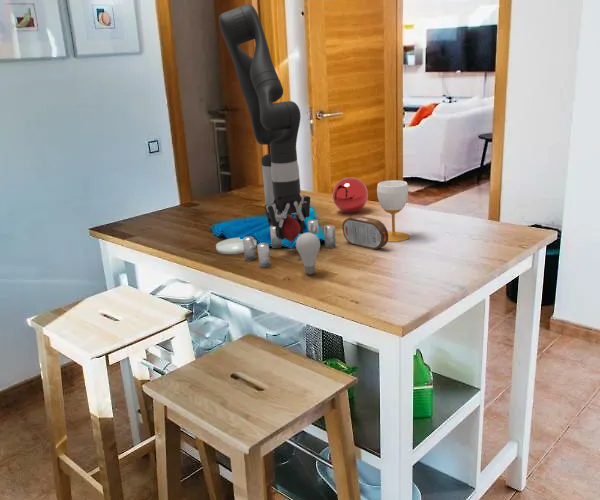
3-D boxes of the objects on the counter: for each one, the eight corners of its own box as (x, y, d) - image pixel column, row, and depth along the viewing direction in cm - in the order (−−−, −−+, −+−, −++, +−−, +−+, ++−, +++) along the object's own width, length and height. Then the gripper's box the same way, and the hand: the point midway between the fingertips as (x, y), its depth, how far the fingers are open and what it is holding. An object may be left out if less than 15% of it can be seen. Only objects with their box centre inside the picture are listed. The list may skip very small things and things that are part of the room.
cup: (412, 233, 178) (412, 180, 173) (404, 243, 170) (403, 187, 165) (383, 231, 182) (381, 179, 177) (374, 240, 174) (372, 186, 169)
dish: (244, 238, 186) (244, 234, 185) (264, 247, 176) (264, 243, 176) (209, 247, 179) (208, 244, 179) (228, 257, 170) (227, 253, 169)
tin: (389, 249, 166) (388, 220, 164) (382, 252, 164) (381, 223, 162) (348, 240, 177) (347, 212, 174) (341, 243, 175) (339, 215, 172)
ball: (374, 208, 207) (373, 174, 203) (359, 218, 198) (357, 182, 194) (343, 206, 213) (341, 173, 209) (327, 215, 204) (325, 180, 200)
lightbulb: (297, 271, 155) (294, 230, 152) (320, 269, 156) (318, 228, 152) (299, 279, 150) (295, 237, 146) (323, 277, 150) (320, 235, 146)
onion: (299, 244, 166) (296, 217, 163) (278, 244, 167) (276, 217, 165) (303, 237, 171) (300, 210, 169) (283, 238, 173) (281, 211, 170)
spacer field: (308, 235, 184) (307, 216, 182) (345, 249, 169) (344, 228, 167) (236, 255, 171) (234, 235, 169) (269, 271, 156) (267, 250, 154)
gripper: (299, 170, 170) (303, 227, 175) (255, 180, 162) (261, 239, 168) (315, 174, 164) (319, 232, 170) (270, 184, 156) (276, 245, 162)
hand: (290, 235), depth 169 cm, fingers closed on onion, 6 cm apart
